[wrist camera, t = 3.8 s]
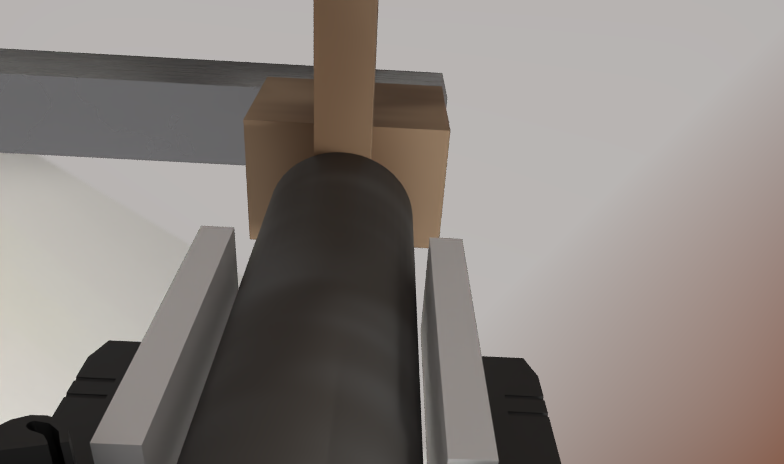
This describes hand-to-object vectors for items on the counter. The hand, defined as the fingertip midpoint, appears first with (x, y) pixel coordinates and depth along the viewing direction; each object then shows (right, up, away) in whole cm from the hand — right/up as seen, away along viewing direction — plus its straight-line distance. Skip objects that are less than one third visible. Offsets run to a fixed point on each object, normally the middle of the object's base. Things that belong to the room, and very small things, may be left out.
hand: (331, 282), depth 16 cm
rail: (-6, +7, +11) cm, 14 cm away
